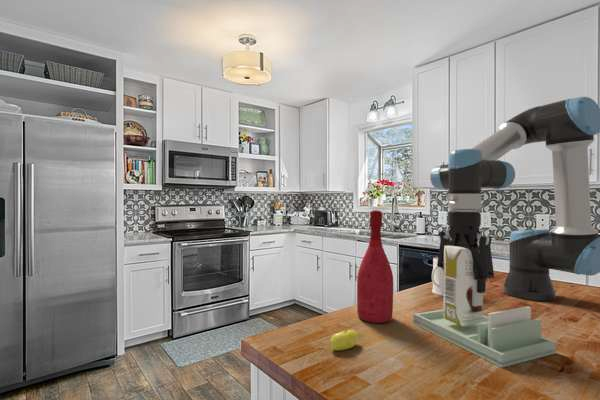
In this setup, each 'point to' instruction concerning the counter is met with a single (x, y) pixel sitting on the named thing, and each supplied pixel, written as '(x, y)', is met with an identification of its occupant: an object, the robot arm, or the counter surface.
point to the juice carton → (459, 287)
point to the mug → (437, 278)
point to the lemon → (344, 340)
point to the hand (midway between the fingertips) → (463, 300)
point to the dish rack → (494, 335)
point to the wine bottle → (375, 278)
